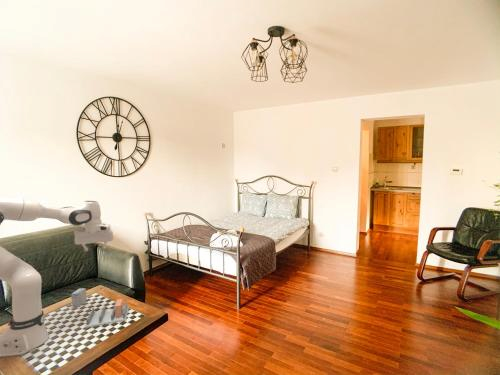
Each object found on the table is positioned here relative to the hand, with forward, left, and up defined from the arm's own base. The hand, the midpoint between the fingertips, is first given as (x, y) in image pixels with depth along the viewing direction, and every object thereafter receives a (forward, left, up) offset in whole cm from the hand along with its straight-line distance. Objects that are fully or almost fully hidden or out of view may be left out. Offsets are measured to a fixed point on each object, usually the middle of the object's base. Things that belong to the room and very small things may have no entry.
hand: (95, 249), depth 161 cm
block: (+13, -13, -36) cm, 40 cm away
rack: (+7, -13, -37) cm, 40 cm away
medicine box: (-14, +10, -37) cm, 41 cm away
